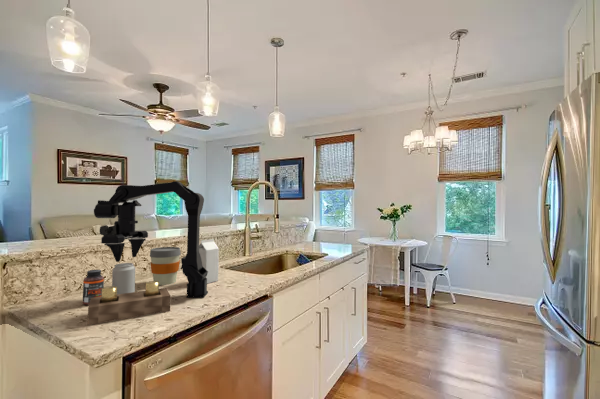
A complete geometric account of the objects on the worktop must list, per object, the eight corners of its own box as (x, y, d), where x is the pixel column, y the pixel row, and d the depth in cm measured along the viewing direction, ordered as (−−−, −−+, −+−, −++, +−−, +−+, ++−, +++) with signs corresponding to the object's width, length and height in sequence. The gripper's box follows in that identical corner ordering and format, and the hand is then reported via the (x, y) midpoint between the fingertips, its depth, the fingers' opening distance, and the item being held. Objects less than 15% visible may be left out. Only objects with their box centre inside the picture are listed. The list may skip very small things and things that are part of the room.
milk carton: (218, 280, 131) (219, 239, 132) (205, 284, 125) (206, 241, 126) (208, 278, 135) (208, 238, 136) (195, 281, 129) (196, 239, 130)
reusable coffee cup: (165, 277, 136) (166, 246, 136) (186, 280, 131) (186, 247, 131) (142, 284, 124) (143, 249, 124) (164, 287, 119) (165, 252, 120)
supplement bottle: (87, 306, 97) (87, 273, 97) (79, 303, 100) (80, 271, 100) (106, 301, 102) (107, 270, 102) (98, 298, 105) (99, 268, 105)
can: (123, 299, 105) (124, 266, 105) (106, 297, 106) (107, 265, 106) (139, 293, 112) (139, 262, 112) (123, 291, 114) (123, 261, 114)
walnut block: (166, 301, 103) (166, 287, 103) (170, 310, 94) (170, 295, 94) (90, 313, 91) (90, 297, 91) (87, 325, 83) (88, 307, 83)
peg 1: (116, 300, 92) (117, 285, 92) (116, 304, 89) (117, 288, 89) (101, 302, 90) (102, 287, 90) (101, 306, 87) (101, 290, 87)
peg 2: (157, 294, 99) (158, 280, 99) (159, 298, 95) (159, 283, 95) (144, 296, 97) (145, 281, 97) (145, 300, 93) (146, 284, 93)
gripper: (122, 217, 118) (122, 254, 118) (86, 219, 100) (86, 264, 99) (148, 217, 118) (148, 255, 117) (117, 219, 99) (116, 264, 99)
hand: (126, 259), depth 108 cm, fingers open, 9 cm apart
